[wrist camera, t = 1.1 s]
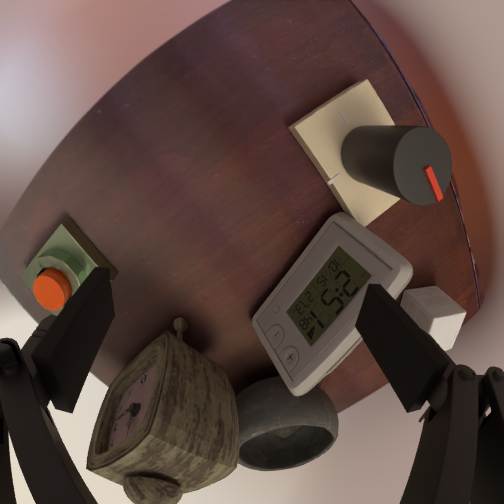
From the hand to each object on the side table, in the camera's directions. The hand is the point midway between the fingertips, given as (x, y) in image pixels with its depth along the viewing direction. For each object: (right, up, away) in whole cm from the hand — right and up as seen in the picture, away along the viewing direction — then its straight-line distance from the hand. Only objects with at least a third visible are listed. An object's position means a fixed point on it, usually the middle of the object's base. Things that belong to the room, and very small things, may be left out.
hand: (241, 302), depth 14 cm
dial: (+11, +11, +11) cm, 20 cm away
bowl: (+3, -18, +25) cm, 31 cm away
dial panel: (+11, +12, +13) cm, 21 cm away
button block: (-20, 0, +15) cm, 25 cm away
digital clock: (+7, 0, +18) cm, 19 cm away
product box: (+23, -5, +22) cm, 32 cm away
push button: (-20, -1, +11) cm, 23 cm away
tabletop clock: (-9, -11, +20) cm, 25 cm away
